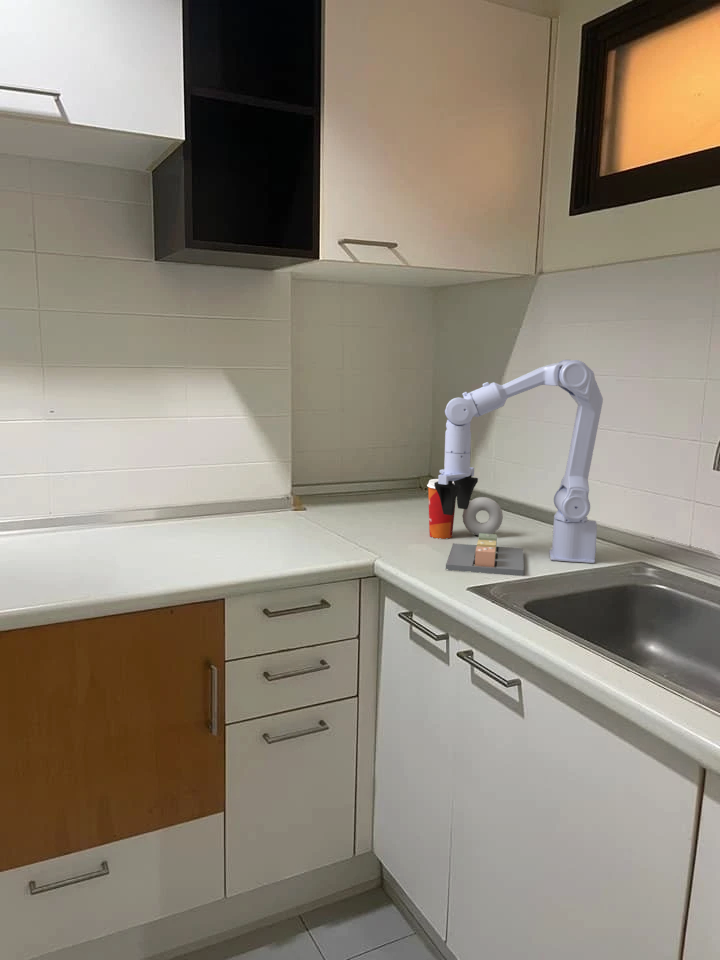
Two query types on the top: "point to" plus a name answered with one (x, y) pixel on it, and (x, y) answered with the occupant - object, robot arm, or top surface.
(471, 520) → the donut
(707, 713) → the top surface
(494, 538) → the tile one pip
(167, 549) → the top surface
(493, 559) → the tile three pips
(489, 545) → the tile two pips
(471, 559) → the grey slotted tray
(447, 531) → the paper cup
